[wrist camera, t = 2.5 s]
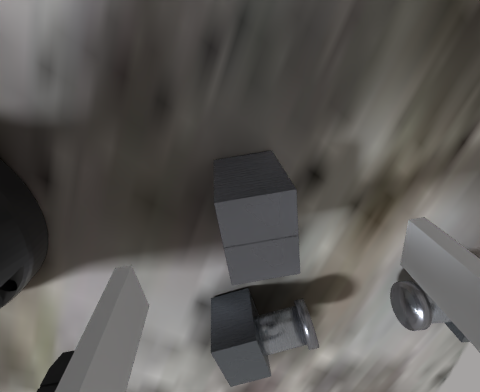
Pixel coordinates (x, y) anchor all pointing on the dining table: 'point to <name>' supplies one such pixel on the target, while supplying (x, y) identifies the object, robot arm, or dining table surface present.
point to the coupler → (256, 217)
